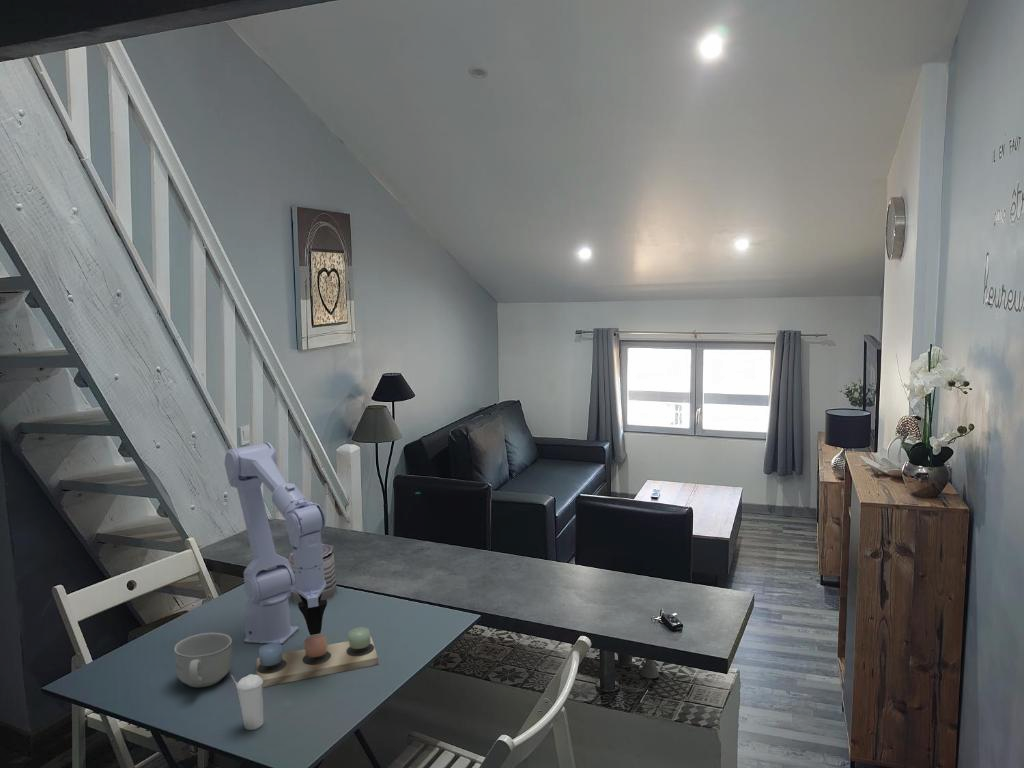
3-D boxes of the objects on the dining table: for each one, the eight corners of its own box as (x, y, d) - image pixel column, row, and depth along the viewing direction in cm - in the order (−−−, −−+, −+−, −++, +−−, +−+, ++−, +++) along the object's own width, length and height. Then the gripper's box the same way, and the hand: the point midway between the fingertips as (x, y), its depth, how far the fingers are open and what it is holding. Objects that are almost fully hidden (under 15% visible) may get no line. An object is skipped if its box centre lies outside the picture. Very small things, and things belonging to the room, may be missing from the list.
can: (337, 601, 187) (333, 555, 186) (290, 608, 185) (286, 561, 183) (337, 584, 198) (333, 541, 197) (292, 590, 196) (289, 546, 194)
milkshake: (240, 719, 137) (234, 668, 136) (269, 716, 137) (264, 665, 136) (233, 734, 133) (227, 681, 131) (263, 731, 133) (258, 678, 132)
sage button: (350, 650, 155) (349, 638, 155) (348, 641, 160) (347, 629, 159) (371, 646, 157) (370, 634, 156) (368, 637, 161) (368, 625, 161)
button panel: (256, 688, 148) (256, 680, 147) (257, 664, 157) (256, 657, 157) (378, 664, 155) (377, 657, 155) (371, 643, 164) (371, 636, 164)
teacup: (192, 666, 157) (188, 631, 156) (243, 665, 157) (239, 629, 156) (160, 703, 144) (155, 664, 143) (215, 702, 143) (211, 663, 142)
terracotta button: (306, 658, 153) (304, 646, 152) (305, 649, 157) (303, 637, 157) (327, 654, 154) (326, 642, 154) (326, 645, 158) (325, 633, 158)
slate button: (259, 667, 150) (258, 655, 150) (260, 657, 154) (258, 645, 154) (282, 663, 151) (281, 650, 151) (282, 653, 156) (281, 641, 155)
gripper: (287, 555, 159) (293, 615, 160) (289, 579, 145) (295, 645, 147) (321, 550, 161) (326, 610, 163) (326, 574, 147) (332, 639, 149)
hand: (314, 626), depth 155 cm, fingers open, 6 cm apart
